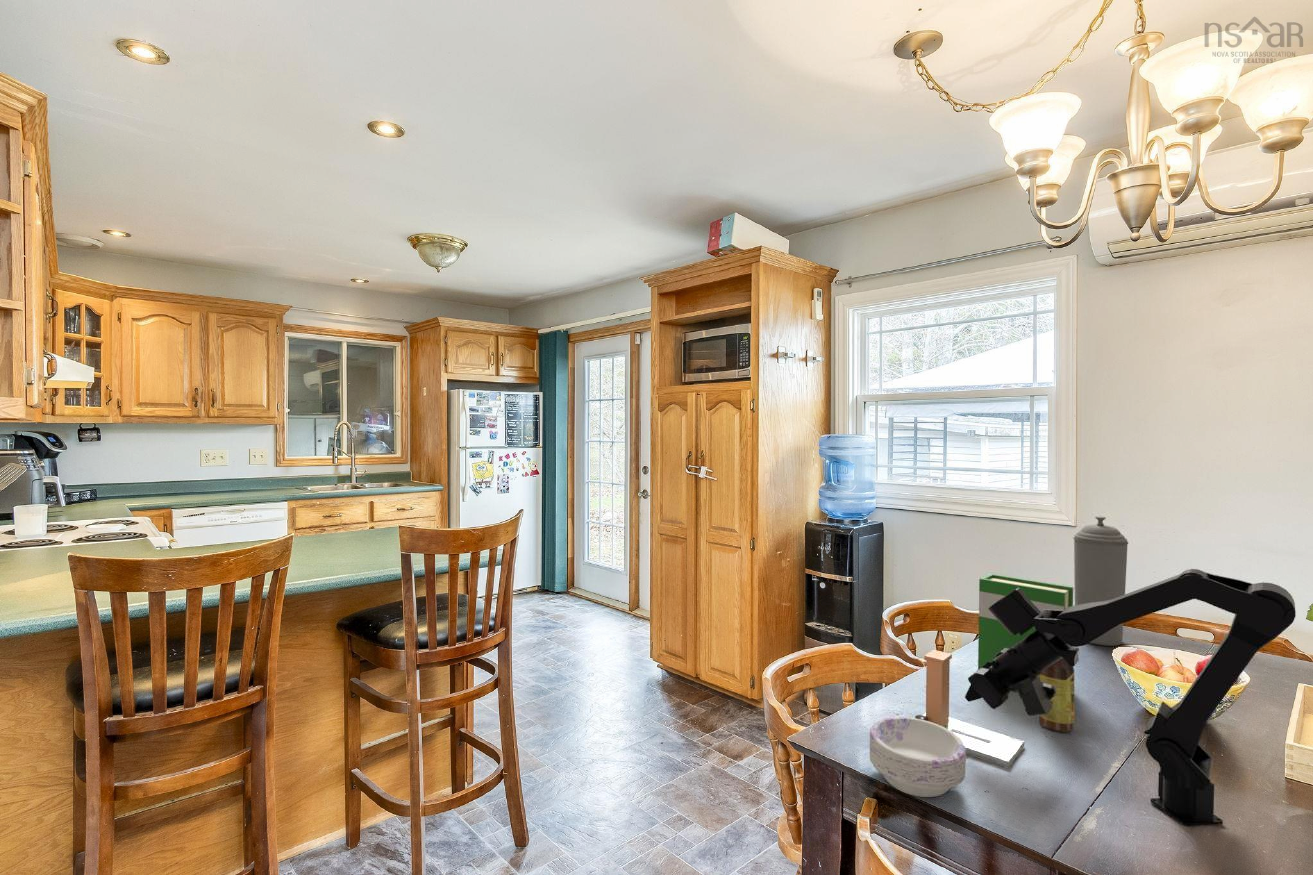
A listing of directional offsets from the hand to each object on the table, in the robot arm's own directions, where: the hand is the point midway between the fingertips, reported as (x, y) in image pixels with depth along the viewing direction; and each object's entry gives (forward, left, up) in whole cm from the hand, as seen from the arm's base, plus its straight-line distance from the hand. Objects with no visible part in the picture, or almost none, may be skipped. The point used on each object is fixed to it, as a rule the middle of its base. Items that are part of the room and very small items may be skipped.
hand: (967, 698), depth 123 cm
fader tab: (+4, +4, -7) cm, 9 cm away
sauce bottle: (+4, -21, -8) cm, 23 cm away
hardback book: (+24, -28, -8) cm, 38 cm away
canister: (+51, -69, -8) cm, 87 cm away
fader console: (0, 0, -8) cm, 8 cm away
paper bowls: (-13, +17, -8) cm, 22 cm away
